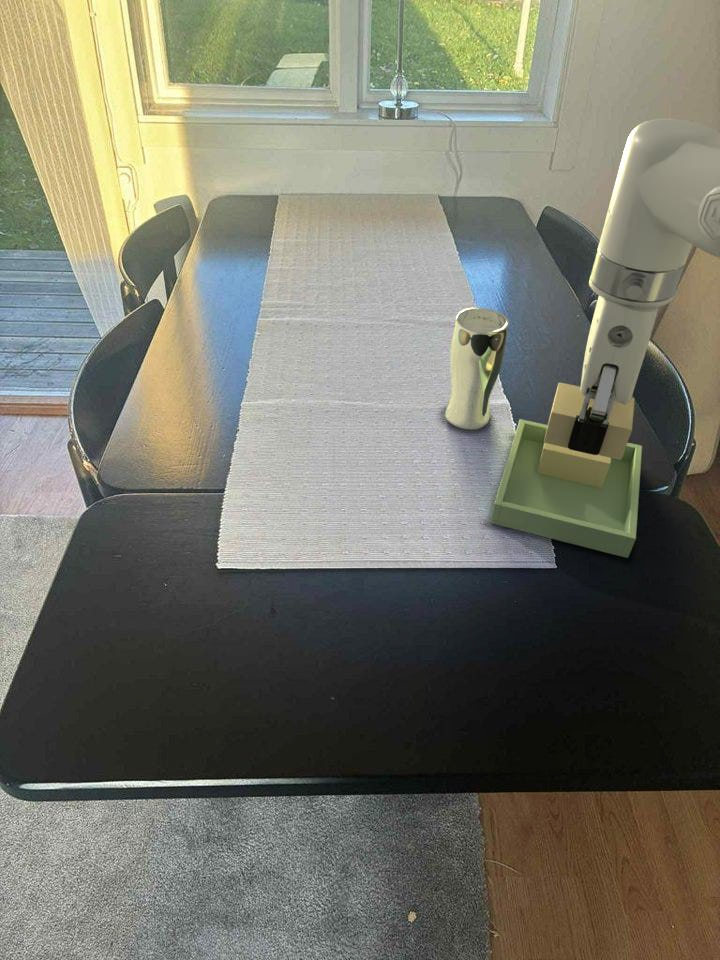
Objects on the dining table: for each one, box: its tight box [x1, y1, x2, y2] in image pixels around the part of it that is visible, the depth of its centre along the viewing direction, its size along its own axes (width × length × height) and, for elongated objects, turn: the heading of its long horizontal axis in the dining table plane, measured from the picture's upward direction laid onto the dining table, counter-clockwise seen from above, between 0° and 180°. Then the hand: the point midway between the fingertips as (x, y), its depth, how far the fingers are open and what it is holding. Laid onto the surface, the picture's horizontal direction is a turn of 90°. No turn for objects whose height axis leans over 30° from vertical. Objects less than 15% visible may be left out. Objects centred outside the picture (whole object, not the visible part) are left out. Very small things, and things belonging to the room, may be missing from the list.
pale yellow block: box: [537, 443, 611, 488], centre depth 88 cm, size 8×6×4 cm
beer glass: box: [444, 307, 510, 430], centre depth 93 cm, size 7×7×15 cm
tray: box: [490, 418, 643, 559], centre depth 85 cm, size 16×18×3 cm
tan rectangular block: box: [544, 382, 636, 460], centre depth 74 cm, size 8×6×4 cm
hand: (586, 431), depth 75 cm, fingers closed on tan rectangular block, 6 cm apart
